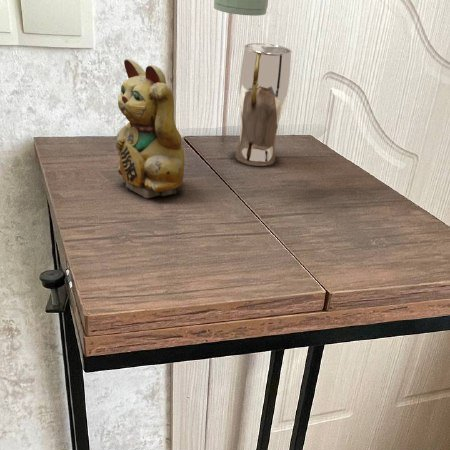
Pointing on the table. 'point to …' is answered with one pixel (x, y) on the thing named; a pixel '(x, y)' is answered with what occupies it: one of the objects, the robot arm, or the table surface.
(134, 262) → the table surface
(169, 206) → the table surface
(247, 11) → the cup
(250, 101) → the beer glass
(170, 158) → the decorative figurine
